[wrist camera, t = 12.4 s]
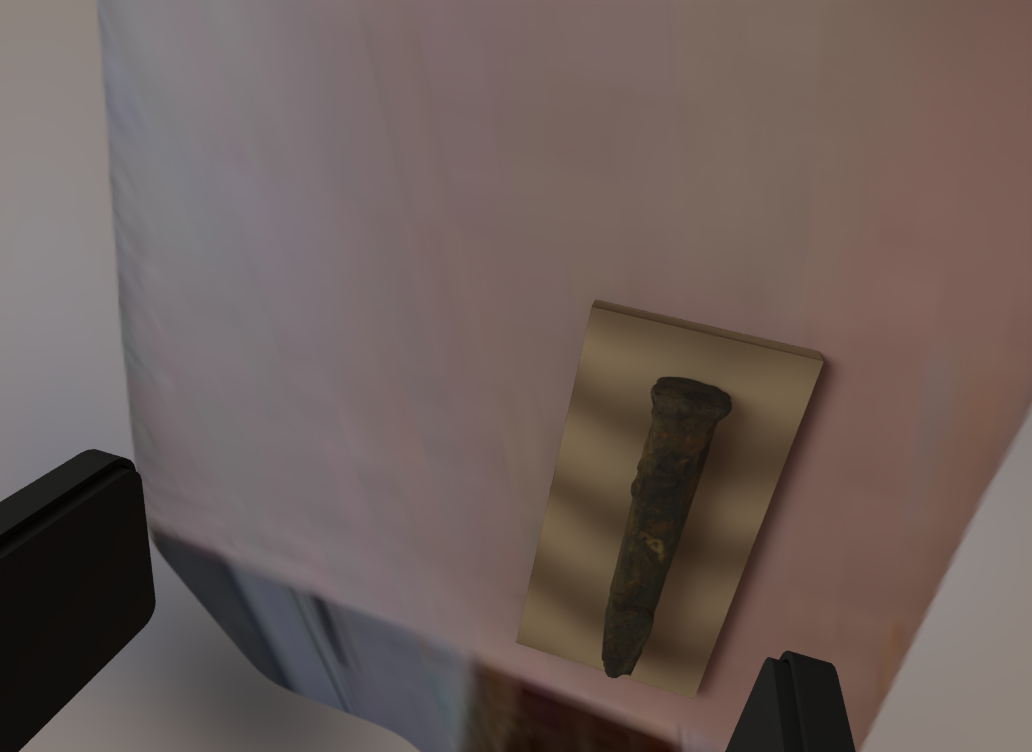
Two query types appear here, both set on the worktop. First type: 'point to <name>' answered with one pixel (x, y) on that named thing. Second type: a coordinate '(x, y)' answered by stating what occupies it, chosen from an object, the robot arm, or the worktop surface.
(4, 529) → the robot arm
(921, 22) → the worktop surface
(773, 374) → the board
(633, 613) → the hand tool
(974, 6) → the worktop surface
